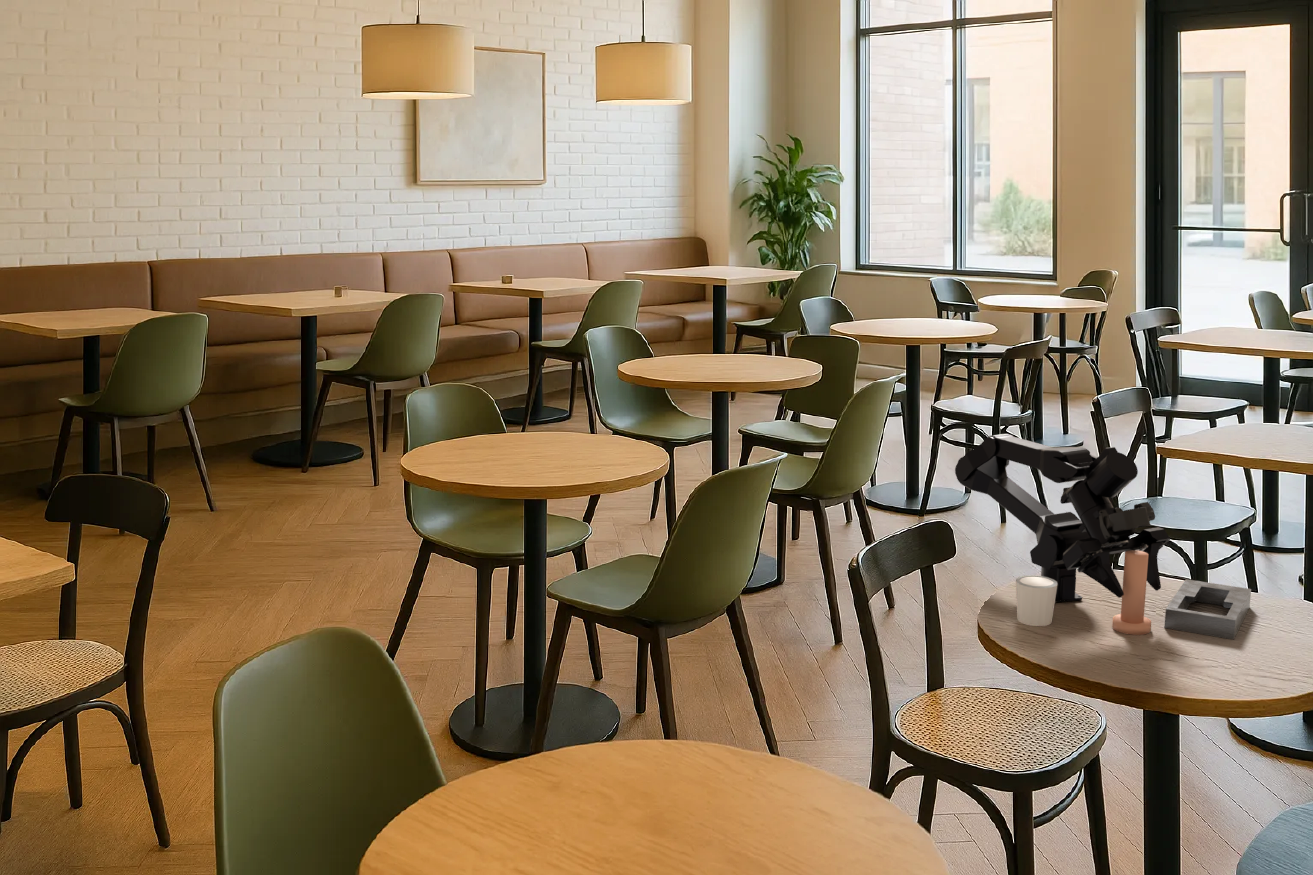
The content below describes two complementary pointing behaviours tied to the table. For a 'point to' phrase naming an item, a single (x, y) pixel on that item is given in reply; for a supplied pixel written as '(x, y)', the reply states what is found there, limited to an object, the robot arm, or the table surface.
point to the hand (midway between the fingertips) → (1140, 592)
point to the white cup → (1035, 599)
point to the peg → (1133, 596)
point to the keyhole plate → (1208, 622)
